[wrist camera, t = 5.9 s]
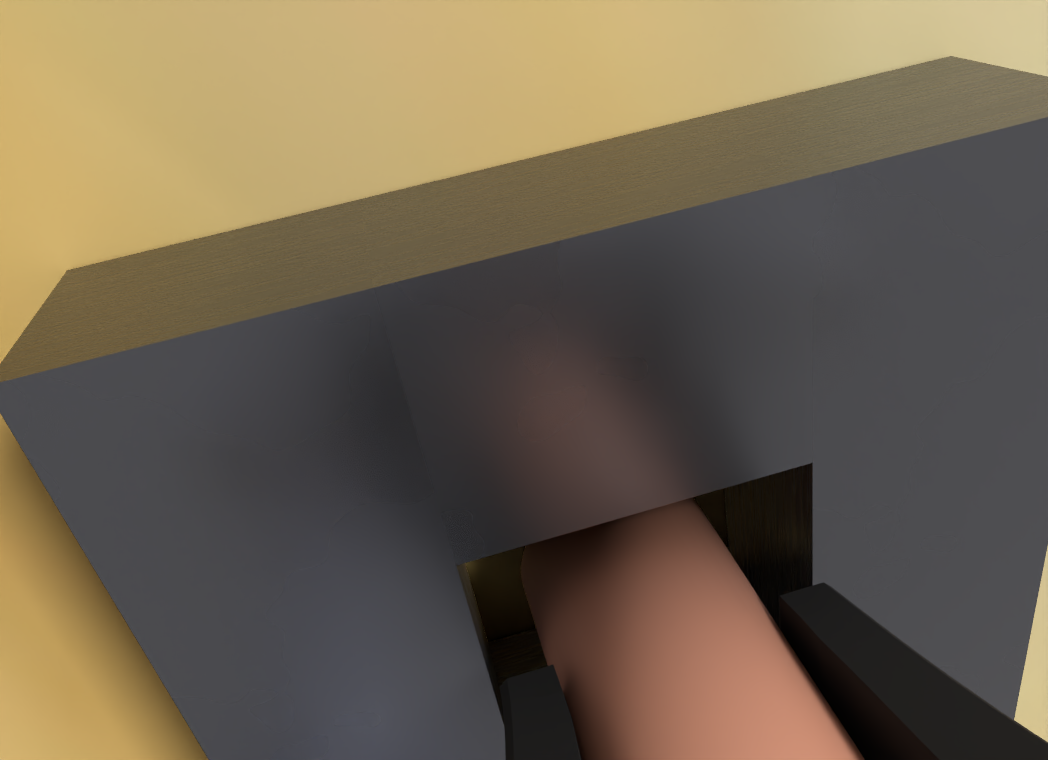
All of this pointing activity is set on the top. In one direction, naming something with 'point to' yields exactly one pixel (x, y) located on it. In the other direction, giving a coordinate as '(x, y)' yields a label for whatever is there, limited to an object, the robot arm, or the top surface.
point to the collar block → (566, 404)
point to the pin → (671, 647)
